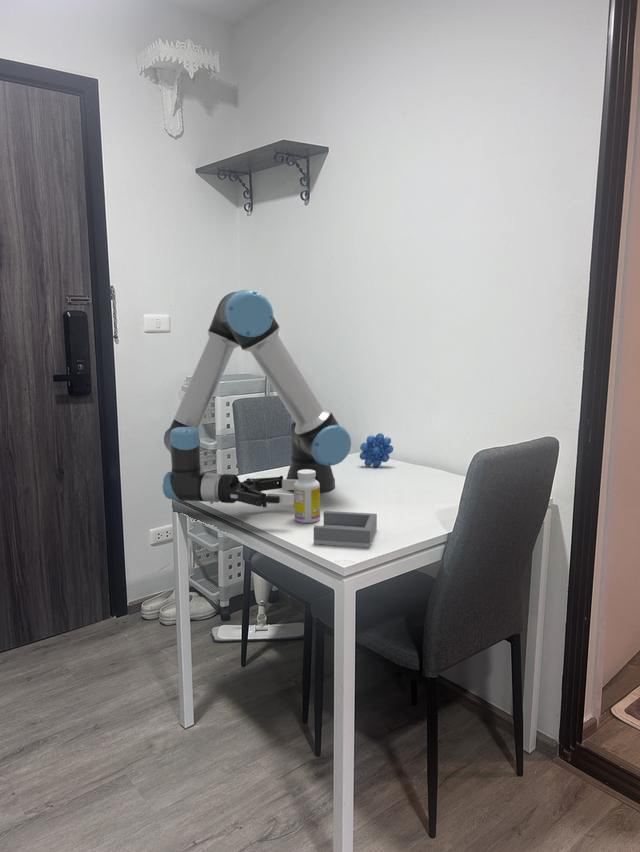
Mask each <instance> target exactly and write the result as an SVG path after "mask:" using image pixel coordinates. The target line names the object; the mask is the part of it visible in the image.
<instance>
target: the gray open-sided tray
mask: <svg viewBox="0 0 640 852" xmlns="http://www.w3.org/2000/svg"><path fill="white" fill-rule="evenodd" d="M377 517H378V514H377V513H370V512H350V511H333V510H324V511H323V525H314V526H313V545H319V544H325V545H324V546H334V545H336V546H337V547H353V548H368V549H369V548H371V546H372V543H373V540H374V537H375V536H376V533H377V527H378V526H377V525H378V521H377V519H378V518H377ZM336 546H335V547H336Z"/></svg>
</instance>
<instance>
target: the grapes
mask: <svg viewBox="0 0 640 852" xmlns="http://www.w3.org/2000/svg"><path fill="white" fill-rule="evenodd" d="M391 443H392V438H391V437H389V436H386V437H385V436H384V433H381V432H379V433H377V434H376V435H372V434H371V435H369V436H367V437H366V442H362V443H361V445H360V446H359V449H360V450H361V452H360V454H359V459H360V460H362V461H364V465H365V466H366V467H370V466H373V467H374V466H375V467H374V468H379V467H380V466H381V465H382V463H387V462H388V461H389V460H390V454H392V453H393V452H394V447H393V445H391ZM378 466H379V467H378Z"/></svg>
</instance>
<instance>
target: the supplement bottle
mask: <svg viewBox="0 0 640 852" xmlns="http://www.w3.org/2000/svg"><path fill="white" fill-rule="evenodd" d="M297 476H298V480H297V481H296V482H295V483H294V491H293V494H294V505H293V507H294V511H293V512H294V520H295V521H296V522H298V523H303V524H304V523H305V524H310V523H311V524H312V523H316V522H318V521H320V519H321V492H320V484H319V482H318V481H317V480H315V476H316V471H314V470H309V469H305V470H299V471H298V472H297Z"/></svg>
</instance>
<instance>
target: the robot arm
mask: <svg viewBox="0 0 640 852" xmlns="http://www.w3.org/2000/svg"><path fill="white" fill-rule="evenodd" d="M279 331H280V325H279V323H278V321H277V320H276V319H275V317H274V310H273V307H272V304H271V302H270V300H269V299H268V298H267V297H266V296H265V295H263V294H262V293H260V292H258V291H255V290H251V289H241V290H238V291H232V292H230V293H228V294H226V295H225V296H223V297H222V298H221V300H220V301H219V303H218V305H217V307H216V309H215V313H214V315H213V317H212V320H211V323H210V325H209V328H208V330H207V334H208V339H207V342H206V344H205V346H204V349H203V351H202V353H201V355H200V357H199V360H198V363H197V365H196V368H195V370H194V372H193V374H192V376H191V378H190V381H189V382H188V383H189V384H188V385H187V388H186V390H185V393H184V394H183V396H182V399H181V402H180V404H179V406H178V408H177V411H176V413H175V415H174V417H173V421H172V422H171V424H170V427H169V428H167V429H166V431H165V432H164V435H163V443H164V446H165V448H166V449H167V451H169V453H170V460H171V471H168V472H166V474H165V475H164V476H163V483H162V492H163V495H164V497H165V498H166V499H169V500H173V501H181V502H184V501H185V502H186V501H187V502H206V503H207V502H209V504H211V505H213V504H214V503H220V502H221V503H223V504H235V503H236V502H238V503H243V504H248V505H251V506H255V507H261V508H267V506H268V505H280V506H281V505H283V506H294V493H283V492H267V493H265V492H264V491H271V490H277V489H281V490H282V491H283V490H286V491H291V492H294V483H295V482H296V481H297V480H298V476H297V472H298V471H299V470H305V469H309V470H314V471H316V476H315V480H317V481H318V482H319V484H320V493H325V492H330V491H332V490H334V489H335V487H336V478H335V477H334V474H333V473H334V472H333V470H332V466H336V465H339V464H341V463H342V462H343V461H344V460H345V459H347V457H348V455H349V454H350V451H351V447H352V439H351V435H350V433H349V432H348V431H347V430H346V429H345V428H344V427H343V426H342V425H340V424H339V422H338V421H337V419H336V418H335V416H334V414H333V413H332V411H331V409H328V408H324V407H322V405H321V404H320V401H319V400H318V398H317V397H316V396H315V393H314V392H313V390H312V388H311V386H310V385H309V384H308V382H307V380H306V379H305V377H304V376H303V374H302V373H301V370H300V369H299V368H298V365H297V364H296V363H295V361H294V359H293V357H292V356H291V354H290V352H289V351H288V350H287V347H286V346H285V344H284V343H283V341H282V339H281V338H280V336H279ZM238 347H240V349H241V350H242V351H245V352H250V353H251V354H252V355H251V356H253V358H254V360H255V361H256V362H257V364H258V365H259V367H260V369H261V371H262V373H263V374H264V376H265V377H266V378H267V380H268V382H269V383H270V385H271V386H272V388H273V390H274V391H275V393H276V394H277V396H278V397H279V399H280V401H281V402H282V403H283V405H284V407H285V409H286V410H287V413H289V415H290V424H289V427H290V465H289V468H288V471H287V475H286V476H287V477H286V478H284V476H283V475H280V476H273V477H257V478H256V477H255V478H253V477H252V478H250V477H249V478H246V479H245V480H243V481H240V479H239V477H238V475H237V474H231V473H213V472H210V473H208V472H204V473H203V472H201V471H202V470H201V469H202V468H201V445H200V443H201V439H200V431H199V430H200V427H201V424H202V422H203V420H204V418H205V416H206V414H207V411H208V409H209V406H210V404H211V402H212V400H213V397H214V395H215V394H216V393H215V392H216V391H217V388H218V386H219V384H220V382H221V379H222V377H223V375H224V372H225V370H226V369H227V366H228V363H229V362H230V358H231V357H232V354H233V351H234V350H235V349H236V348H237V349H238Z"/></svg>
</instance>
